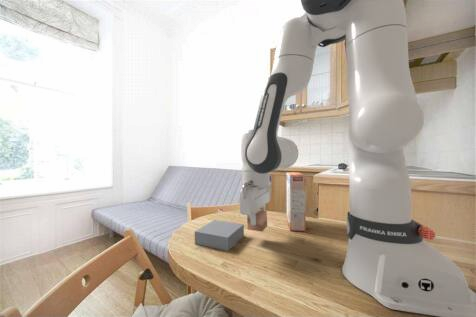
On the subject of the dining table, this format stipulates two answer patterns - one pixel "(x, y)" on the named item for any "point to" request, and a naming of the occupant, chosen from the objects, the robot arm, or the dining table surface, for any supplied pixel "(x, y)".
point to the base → (219, 234)
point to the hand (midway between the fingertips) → (257, 221)
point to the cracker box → (295, 201)
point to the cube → (258, 221)
